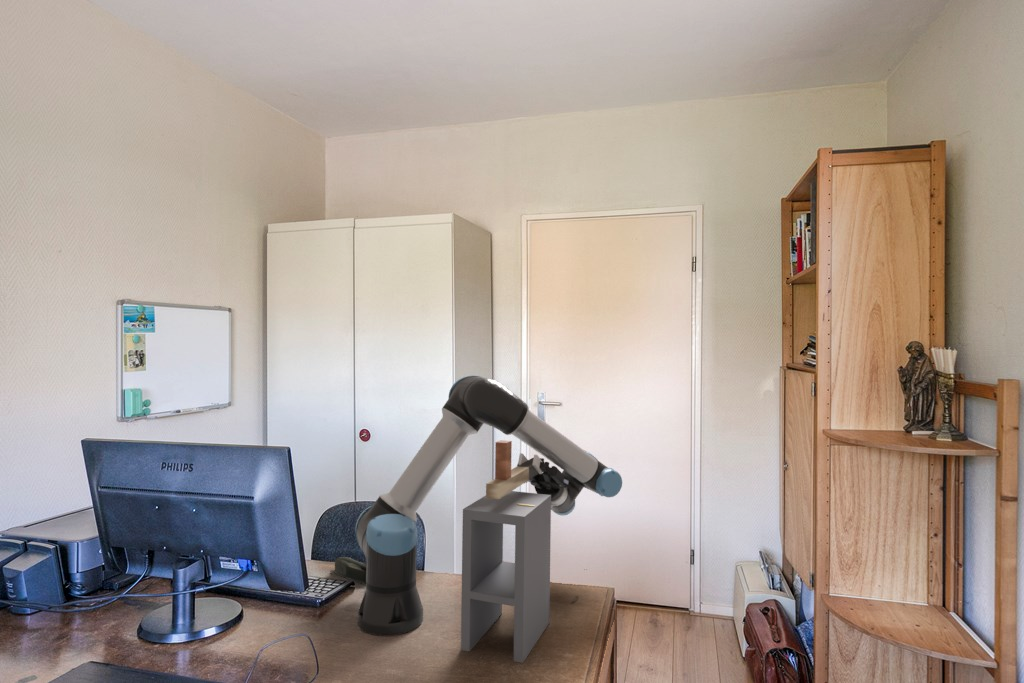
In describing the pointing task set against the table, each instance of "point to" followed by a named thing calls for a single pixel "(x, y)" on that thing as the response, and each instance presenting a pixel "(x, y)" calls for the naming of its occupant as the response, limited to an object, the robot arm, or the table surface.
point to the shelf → (506, 568)
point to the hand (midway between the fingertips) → (527, 459)
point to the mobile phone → (350, 569)
